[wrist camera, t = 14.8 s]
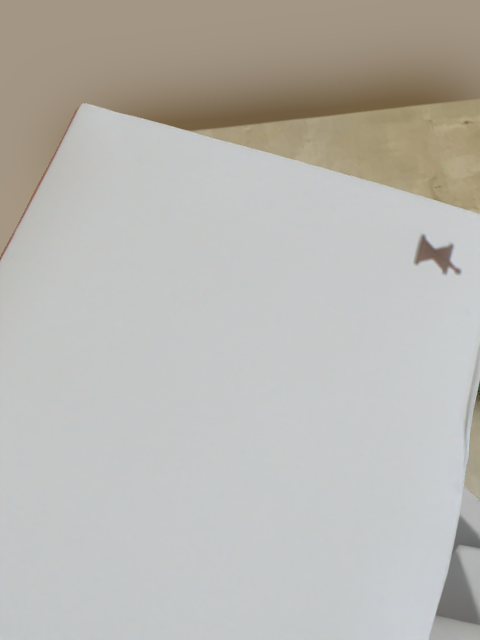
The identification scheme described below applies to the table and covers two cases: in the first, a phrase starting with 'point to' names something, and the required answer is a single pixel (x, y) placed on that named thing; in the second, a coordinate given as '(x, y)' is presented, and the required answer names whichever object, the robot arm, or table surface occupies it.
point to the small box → (229, 394)
